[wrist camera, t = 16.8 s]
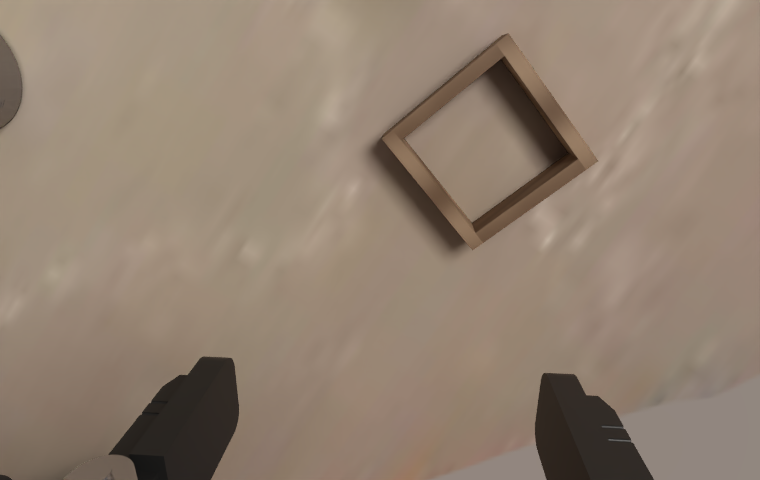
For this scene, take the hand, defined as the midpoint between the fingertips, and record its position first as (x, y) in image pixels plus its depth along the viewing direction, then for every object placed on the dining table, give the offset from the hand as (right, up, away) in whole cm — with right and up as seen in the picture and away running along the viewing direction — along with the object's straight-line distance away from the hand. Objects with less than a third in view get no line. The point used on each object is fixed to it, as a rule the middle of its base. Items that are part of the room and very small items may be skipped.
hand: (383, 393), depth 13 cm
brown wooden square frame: (+8, +11, +25) cm, 29 cm away
